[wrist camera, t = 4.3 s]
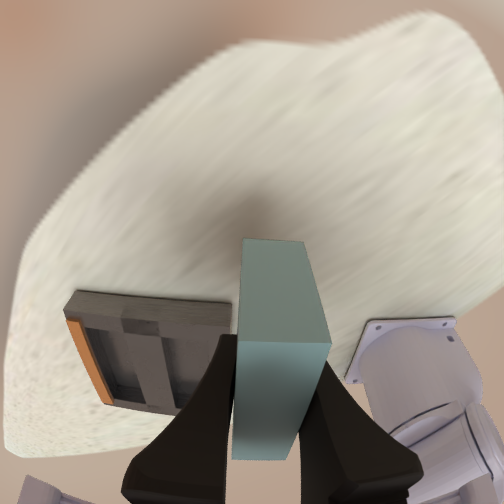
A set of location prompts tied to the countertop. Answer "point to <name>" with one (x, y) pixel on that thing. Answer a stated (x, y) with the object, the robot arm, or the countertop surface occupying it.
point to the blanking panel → (275, 348)
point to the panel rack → (145, 347)
